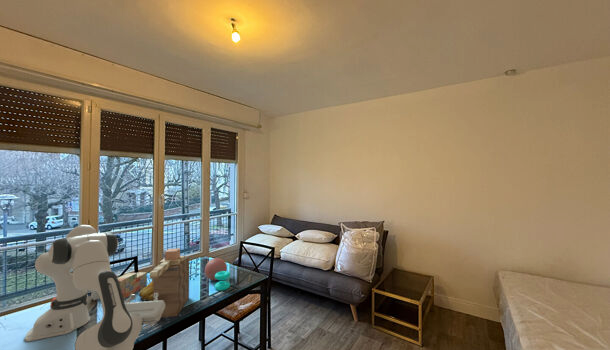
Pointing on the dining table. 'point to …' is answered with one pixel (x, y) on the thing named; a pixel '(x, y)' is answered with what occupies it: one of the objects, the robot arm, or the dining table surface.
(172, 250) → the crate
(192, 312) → the dining table surface
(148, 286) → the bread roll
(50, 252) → the robot arm
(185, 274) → the paper bag
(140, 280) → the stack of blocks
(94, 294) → the light grey block
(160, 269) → the pallet
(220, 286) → the donuts
